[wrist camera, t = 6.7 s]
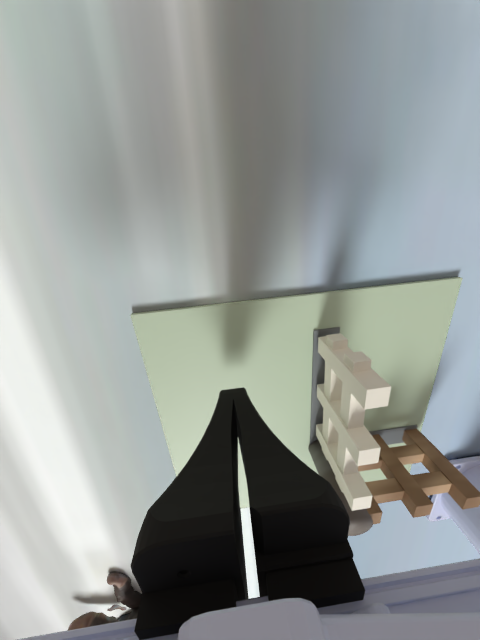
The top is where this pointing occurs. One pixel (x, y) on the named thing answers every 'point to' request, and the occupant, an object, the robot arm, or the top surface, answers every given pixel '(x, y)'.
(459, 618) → the robot arm
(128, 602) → the stuffed animal
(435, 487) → the fixed fence panel
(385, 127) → the top surface
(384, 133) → the top surface
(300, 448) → the card
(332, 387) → the folding fence panel
